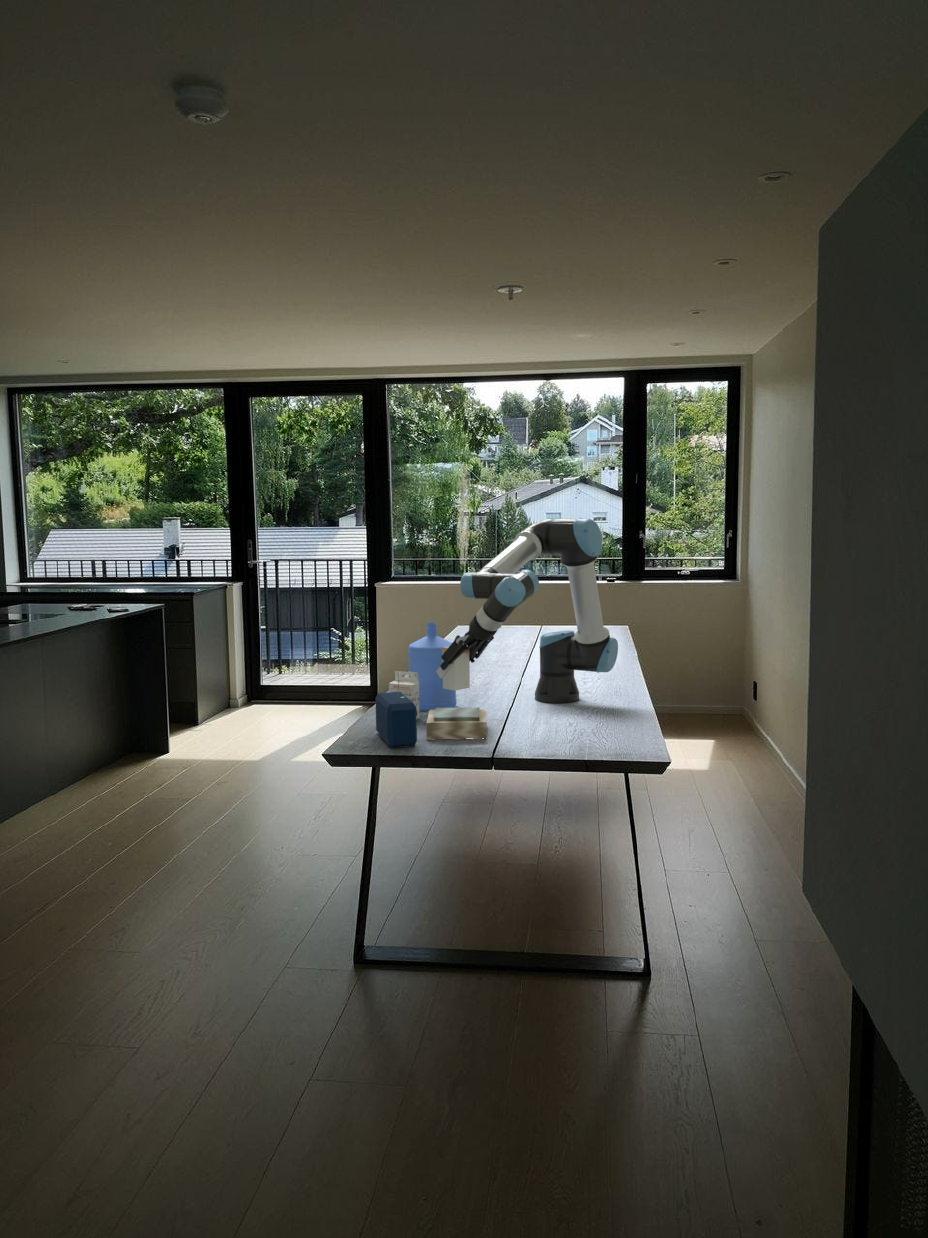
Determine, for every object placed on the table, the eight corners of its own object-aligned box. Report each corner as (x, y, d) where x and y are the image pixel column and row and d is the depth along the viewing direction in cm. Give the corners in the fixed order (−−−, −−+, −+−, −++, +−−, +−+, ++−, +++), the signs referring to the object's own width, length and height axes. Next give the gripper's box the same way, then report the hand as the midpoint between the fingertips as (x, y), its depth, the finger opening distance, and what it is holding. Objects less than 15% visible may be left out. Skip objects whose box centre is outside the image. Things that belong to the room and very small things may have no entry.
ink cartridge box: (388, 720, 287) (387, 673, 285) (395, 716, 292) (394, 670, 290) (414, 721, 284) (413, 674, 283) (420, 718, 289) (419, 672, 287)
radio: (420, 747, 253) (419, 675, 251) (389, 750, 251) (387, 677, 249) (403, 730, 273) (402, 664, 271) (374, 732, 271) (373, 665, 269)
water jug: (446, 713, 295) (445, 627, 291) (401, 710, 300) (399, 625, 297) (463, 704, 309) (462, 621, 306) (420, 701, 315) (418, 619, 311)
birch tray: (486, 725, 278) (486, 706, 277) (486, 739, 261) (486, 718, 260) (430, 725, 278) (429, 706, 278) (426, 739, 261) (426, 719, 261)
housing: (470, 687, 268) (469, 646, 267) (454, 690, 264) (454, 649, 263) (457, 685, 272) (457, 645, 271) (442, 688, 268) (441, 647, 266)
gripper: (469, 636, 248) (429, 688, 262) (517, 629, 261) (477, 679, 275) (455, 615, 252) (417, 667, 265) (503, 609, 265) (464, 659, 278)
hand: (447, 673), depth 270 cm, fingers closed on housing, 6 cm apart
